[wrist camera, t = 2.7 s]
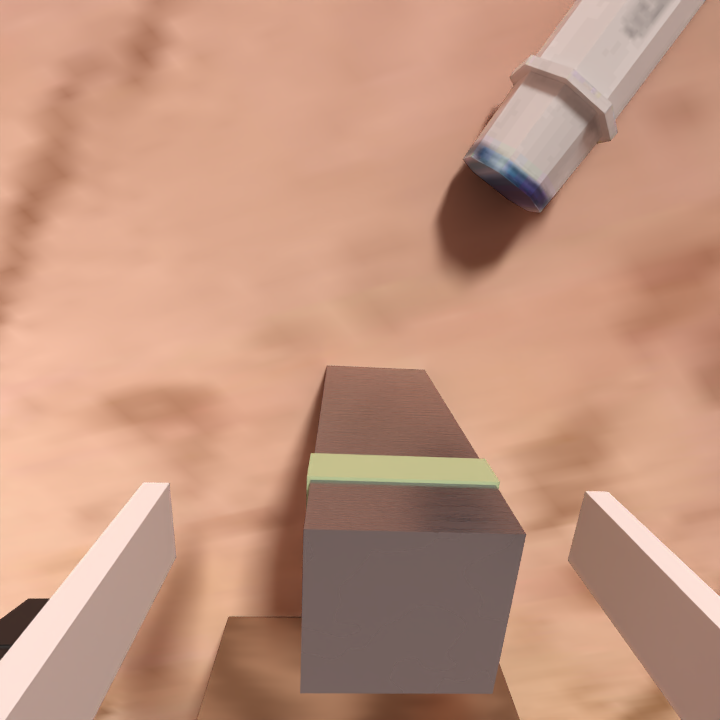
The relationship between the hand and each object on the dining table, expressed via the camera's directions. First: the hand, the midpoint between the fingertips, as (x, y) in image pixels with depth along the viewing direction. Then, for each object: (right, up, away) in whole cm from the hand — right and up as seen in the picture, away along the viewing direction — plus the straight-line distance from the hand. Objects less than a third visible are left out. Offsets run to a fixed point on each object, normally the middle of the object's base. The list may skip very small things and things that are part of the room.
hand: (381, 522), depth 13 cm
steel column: (0, +2, +8) cm, 9 cm away
